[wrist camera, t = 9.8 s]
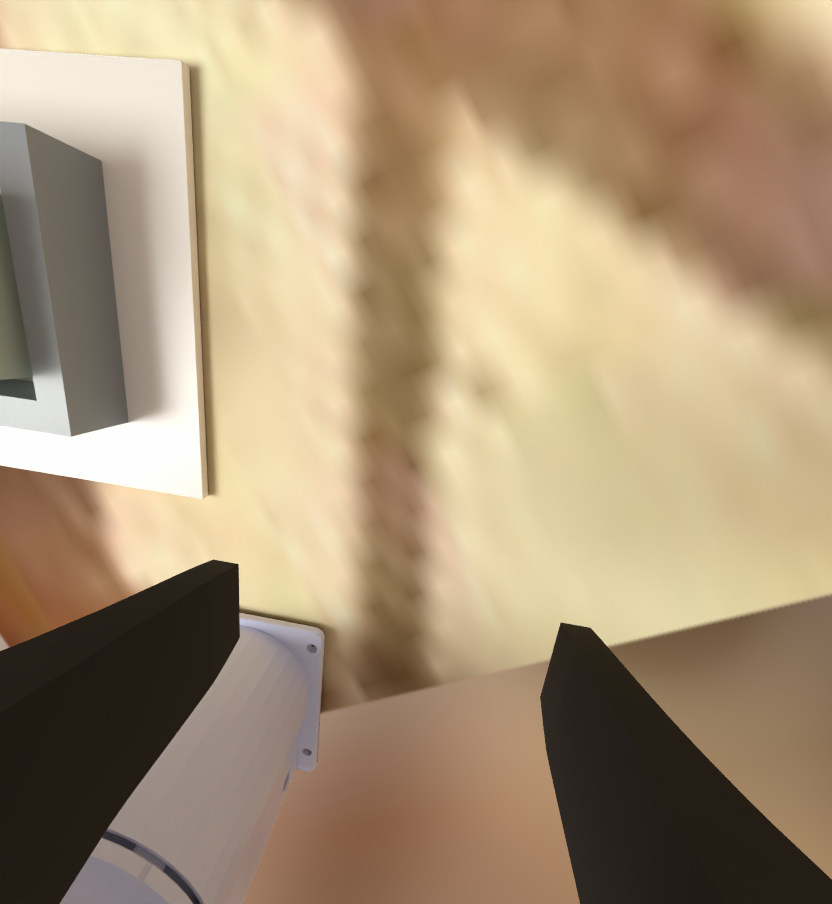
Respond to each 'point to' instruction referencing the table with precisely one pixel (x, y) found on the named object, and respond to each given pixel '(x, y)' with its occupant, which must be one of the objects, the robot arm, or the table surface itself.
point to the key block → (10, 314)
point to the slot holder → (103, 270)
